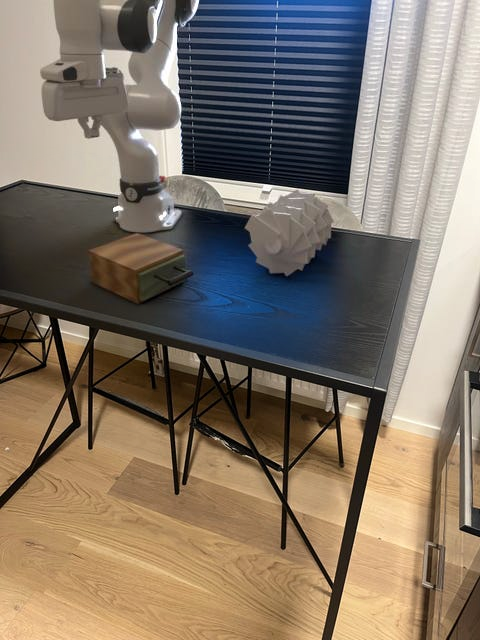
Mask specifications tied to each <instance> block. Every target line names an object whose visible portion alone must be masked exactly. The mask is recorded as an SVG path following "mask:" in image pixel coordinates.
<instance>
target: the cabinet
mask: <svg viewBox="0 0 480 640" xmlns="http://www.w3.org/2000/svg"><path fill="white" fill-rule="evenodd" d="M179 255H184V250H183V248H182V249H181V248H179V247H177V246H174V245H171V244H169V243H166V242H163V241H160V240H157V239H154V238H153V237H149V236H146V235H144V234H142V233H139V232H135V233H134V234H130V235H128V236H125V237H122V238H120V239H116V240H114V241H111V242H108V243H105V244H103V245H100V246H97V247H93V248H92V249H91V248H90V249H89V250H88V257H89V263H90V264H89V265H90V272H91V278H92V283H93V284H95V285H98V286H99V287H101V288H103V289H106V290H107V291H110V292H111V293H114V294H116V295H117V296H120V297H123V298H124V299H127V300H128V301H131V302H133V303H134V304H137V305H139V304H141V303H144V302H146V301H147V300H149V299H151V298H153V297H154V296H152V297H150V298H148V299H146V300H144V301H142V300H140V297H139V285H138V272H141V271H143V270H145V269H148V268H150V267H152V266H155V265H157V264H159V263H162V262H164V261H166V260H169V259H171V258H173V257H177V256H179ZM184 282H185V281H183V282H181V283H179V284H177V285H175V286H173V287H171V288H169V289H172V288H174V287H176V286H178V285H180V284H182V283H184ZM169 289H167V290H166V291H168V290H169Z"/></svg>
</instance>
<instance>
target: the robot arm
mask: <svg viewBox="0 0 480 640" xmlns="http://www.w3.org/2000/svg"><path fill="white" fill-rule="evenodd" d="M52 1H53V13H54V14H53V15H54V21H55V27H56V32H57V34H58V38H59V43H60V44H59V56H60V57H59V59H56V60H54V61H52V62H51V63H49V64H47V65H44V66H43V67H41V68H40V71H39V73H40V77H41V79H43V80H44V81H43V82H42V85H41V102H42V109H43V114H44V116H45V117H46V118H47V119H48V120H49V121H52V122H64V121H70V120H76V119H77V123H78V124H79V126H80V127H81V129H82V130H83V136H84V138H85V139H87V140H89V139H94V138H99V137H101V135H100V134H101V133H100V129H101V127H102V128H103V129H104V130H105V131H106V133H107V134H108V135H109V137H110V139H111V141H112V142H113V145H114V147H115V150H116V153H117V159H118V166H119V174H120V178H119V183H118V184H119V191H120V192H121V193H119V195H118V196H117V206H115V207H114V208H113V212H116V211H118V215H117V216H116V217H115V222H116V223H117V224H119V225H118V226H119V227H120V229H122V230H124V231H126V232H131V233H153V232H158V231H168V230H173V227H174V226H175V225H176V223H177V222H178V220H179V219H180V218H181V216H182V211H181V210H180V209H177V208H175V202H174V197H173V196H172V195H171V194H170V193H168V192H167V191H166V190H164V186H163V184H165V183H166V181H167V180H166V179H167V178H166V176H165V175H160V170H159V167H160V166H159V154H158V151H157V149H156V148H155V146H153V145H152V144H151V143H149V142H148V141H147V140H146V139H144V137H143V136H142V134H141V132H140V130H145V131H146V130H147V131H155V132H157V131H165V130H170V129H171V130H172V129H175V127H176V126H177V124H178V123H179V122H180V119H181V116H182V104H181V99H180V98H179V96H178V95H177V93H176V92H175V91H174V90H173V89H172V88H171V87H170V86H169V84H168V79H169V75H170V74H169V73H170V71H171V67H172V64H173V62H174V58H175V54H176V49H177V42H178V34H177V33H178V32H177V29H178V28H177V27H179V28H183V27H185V26H186V24H187V22H189V21H190V20H191V19H192V18H193V17H194V16H195V15H196V13H197V10H198V6H199V1H200V0H52ZM104 50H106V51H124V52H131V54H130V57H129V60H128V64H127V66H128V67H127V68H128V73H129V75H130V77H131V79H132V81H134V82H135V84H125V75H124V73H123V72H122V71H121V70H120V69H119V68H118V67H116V66H115V67H106V64H105V63H106V60H105V52H104ZM89 118H90V119H91V121H93V122H92V124H91V127H90V126H89V124H88V123H89V122H90V119H89ZM176 209H177V210H176Z"/></svg>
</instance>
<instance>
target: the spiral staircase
mask: <svg viewBox="0 0 480 640" xmlns="http://www.w3.org/2000/svg"><path fill="white" fill-rule="evenodd" d="M329 206H330V205H329V204H328V203H326V202H325V201H323V200H321V199H320V198H318V197H317V196H316V193H314V192H300V191H299V189H298V188H297V189H295V190H294V191H292V192H289V194H286V195H282V194H280V195H279V197H278V199H277V201H276V202H274V203H272V202H271V201H269V202H268V205H267V206H266V205H265V206H264V207H263V208H262V209H261V211H260V213H259V214H258V215H255V214H253V213H252V214H251V216H250V217H249V219H248V221H247V223H246V224H245V227H244V229H245V230H246V231H248V232H249V236H250V241H251V242H250V243H249V244H248V245H247V246H248V248H249V249H250V250H251V251H252V253H253V254H254V255H255V257H256V259H255V263H256V264H259V265H261V266H262V267H264V268H266V269H268V271H269V274H284V275H285V277H288V276H290V275H292V274H293V273H294V272H295V271H297V270H300V271H303V270H304V267H305V265H308V264H309V263H310V262H311V261H312V258H313V259H314V258H315V256H316V250H318V251H322V247H323V245H324V246H327V243H328V240H329V239H331V238H332V224H333V223H335V221H334V218H333V217H332V214H331V212H330V210H329V209H328V208H329Z"/></svg>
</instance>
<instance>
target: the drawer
mask: <svg viewBox="0 0 480 640" xmlns="http://www.w3.org/2000/svg"><path fill="white" fill-rule="evenodd" d="M194 275H195V274H194V270H192V269H189V270H187V269H186V255H184V254H183V255H179V256H177V257H173V258H171V259H169V260H166V261H164V262H163V263H161V264H158V265H156V266H154V267H151V268H149V269H147V270H144V271H142V272H140V273H139V272H138V285H139V297H140V300H142V301H143V302H145V301H147V300H149V299H151V298H153V297H155V296H158V295H159V294H161V293H163V292H165V291H168V290H169V288H170V289H172V288H174V287H176V286H178V285H180V284H182V283H184V282H185V281H186V280H187V279H189V278H191V277H192V276H194ZM183 281H184V282H183ZM181 282H182V283H181ZM179 283H180V284H179ZM177 284H178V285H177ZM175 285H176V286H175ZM173 286H174V287H173ZM171 287H172V288H171ZM167 289H168V290H167ZM152 296H153V297H152ZM150 297H151V298H150ZM148 298H149V299H148ZM146 299H147V300H146ZM144 300H145V301H144Z"/></svg>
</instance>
